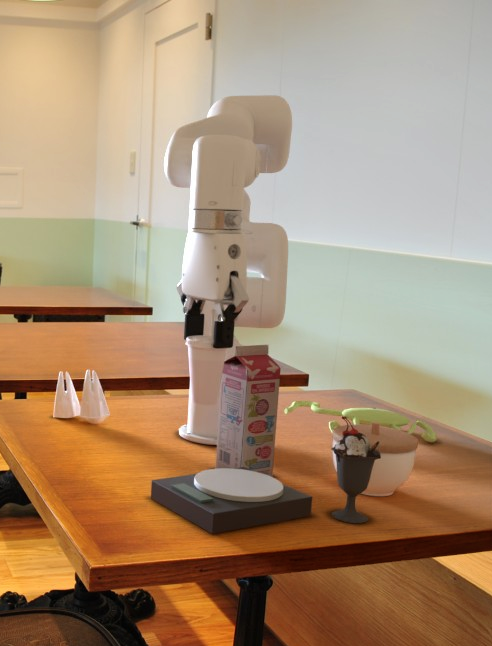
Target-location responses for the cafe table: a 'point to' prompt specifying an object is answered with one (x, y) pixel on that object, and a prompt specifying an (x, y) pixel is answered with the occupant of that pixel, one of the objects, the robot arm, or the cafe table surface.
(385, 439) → the lidded bowl
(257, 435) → the juice carton
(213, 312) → the smoothie
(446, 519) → the cafe table surface
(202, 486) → the scale
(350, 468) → the sundae
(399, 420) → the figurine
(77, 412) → the shaker set
